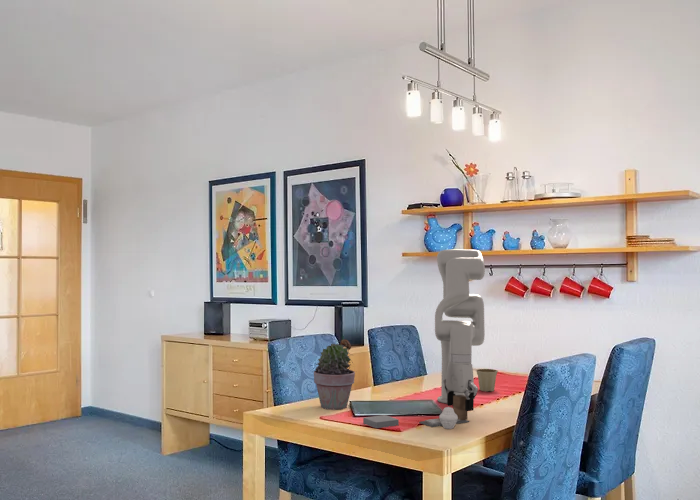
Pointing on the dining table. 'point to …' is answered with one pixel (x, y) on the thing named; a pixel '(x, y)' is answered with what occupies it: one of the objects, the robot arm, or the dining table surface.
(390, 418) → the tile
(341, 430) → the dining table surface
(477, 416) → the dining table surface
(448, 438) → the dining table surface
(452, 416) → the muffin
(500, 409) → the dining table surface
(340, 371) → the potted plant
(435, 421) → the turner
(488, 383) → the flower pot
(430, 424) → the mat
